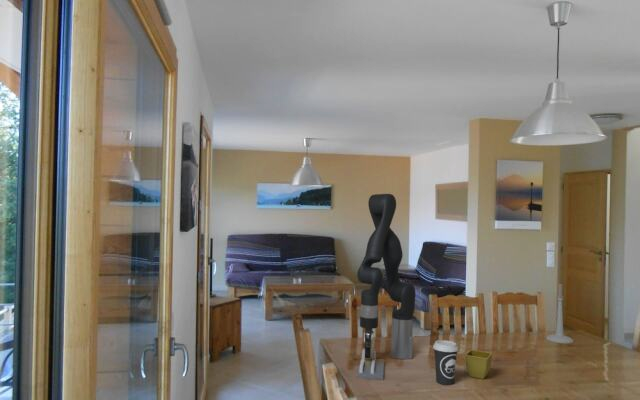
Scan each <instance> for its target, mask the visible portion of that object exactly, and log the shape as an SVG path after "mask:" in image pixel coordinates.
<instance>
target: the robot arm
mask: <svg viewBox="0 0 640 400" xmlns="http://www.w3.org/2000/svg"><path fill="white" fill-rule="evenodd" d="M396 209H397V199H396V197H395V195H394V194H392V193H378V194H377V193H376V194H372V195H371V196H370V197H369V198H368V210H369V213H370V217H371V219H372V222H373V223H372V224H373V226H374V228H375V229H374V230H373V232H372V233H371V235H370V237H369V239H368V240H367V245H366V250H365V255H364V257H363V260H362V261H361V263H360V266H359V267H358V270H357V274H356V275H357V276H356V277H357V280H358V281H359V283H361V284H366V285H371V286H370V288H367V289H363V290H362V291H361V295H360V309H359V326H360V328H363V329H365V330H363V343H364V345H363V347H364V348H363V349H365V358H370V353H371V345H372V344H373V340H374V333H375V332H374V331H375V330H373V329H377V328H378V327H379V294H380V290H381V286H382V283H383V278H384V273H383V271H382V269H381V268H380V267H374V266H373V265H374V264H378V263H381V261H383V267H384V270H385V276H386V284H387V292H388V295H389V297H390V300H392V301H393V302H396V303H400V306H399V308H398V309H394V310H393V311H392V313H391V314H392V315H391V347H390V348H391V349H390V354H391V355H390V356H391V357H392V358H394V359H398V360H408V359H409V360H410V359H413V339H414V338H413V328H414V327H413V323H414V321H413V319H414V313H415V309H416V308H415V306H416V305H415V304H416V289H415V286H414V285H413V283H410V282H404V281H401V279H400V276H399V275H400V274H399V268H400V265H401V263H402V260H403V255H404V254H403V248H402V244H401V241H400V239H399V236H398V235H397V234H396V233H395V232H394V231H393V229H392V228H391V224H392V222H393V219H394V216H395V212H396ZM372 266H373V267H372ZM366 344H370V345H366ZM372 346H373V345H372Z"/></svg>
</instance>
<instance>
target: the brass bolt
mask: <svg viewBox="0 0 640 400" xmlns="http://www.w3.org/2000/svg"><path fill="white" fill-rule="evenodd" d="M366 345H370V344H366ZM372 350H373V345H371V353H370V358H364V360H365V366H371V361H372Z"/></svg>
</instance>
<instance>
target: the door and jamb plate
mask: <svg viewBox="0 0 640 400" xmlns="http://www.w3.org/2000/svg"><path fill="white" fill-rule="evenodd" d="M376 352H377V350H376V349H372V361H371V366H365V360H364V358H365V348H362V351H361V357H360V361H359V366H358V369H357V374H356V378H359V379H367V380H368V379H372V380H384V372H385V359H382V358H381V359H380V358H376V357H377V355H376V354H377V353H376Z"/></svg>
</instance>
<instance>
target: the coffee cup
mask: <svg viewBox="0 0 640 400" xmlns="http://www.w3.org/2000/svg"><path fill="white" fill-rule="evenodd" d="M432 348H433V351H434V364H435V365H434V366H435V367H434V368H435V369H434V370H435V382H436V383H437V384H439V385H442V386H452V385H454V383H455V375H456V365H457V358H458V357H457V356H458V351H459V350H460V349H459V347H458V344H457V343H456V342H455V341H451V340H447V339H446V340H445V339H444V340H440V339H439V340H436V341H435V342H434V344H433V345H432Z"/></svg>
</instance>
